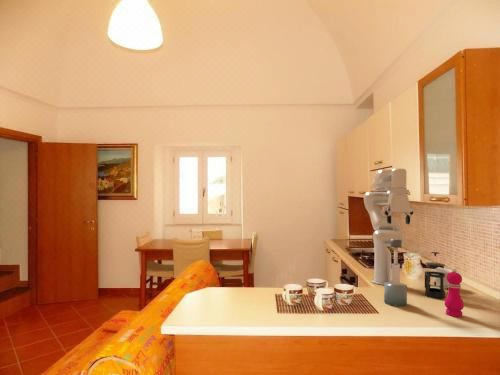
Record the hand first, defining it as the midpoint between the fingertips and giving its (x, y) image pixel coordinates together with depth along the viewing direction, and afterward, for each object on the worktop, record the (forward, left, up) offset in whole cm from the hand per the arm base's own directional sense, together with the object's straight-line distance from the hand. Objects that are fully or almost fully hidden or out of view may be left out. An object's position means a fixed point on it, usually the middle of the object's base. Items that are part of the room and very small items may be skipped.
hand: (398, 223), depth 183 cm
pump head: (+16, -7, -19) cm, 26 cm away
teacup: (-20, +33, -37) cm, 54 cm away
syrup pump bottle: (+17, -8, -37) cm, 42 cm away
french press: (+1, +18, -37) cm, 42 cm away
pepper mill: (+31, +12, -37) cm, 50 cm away
